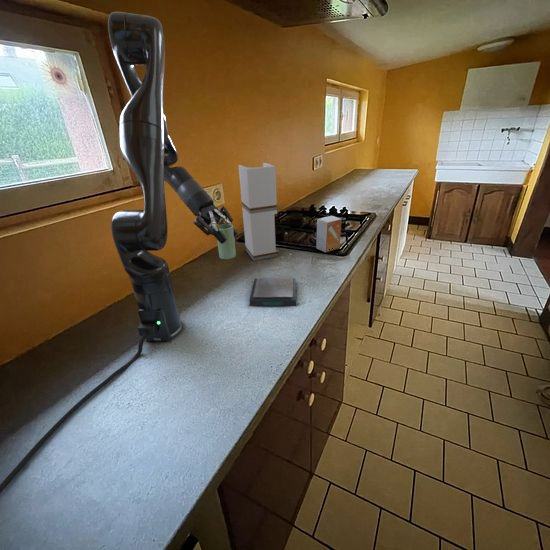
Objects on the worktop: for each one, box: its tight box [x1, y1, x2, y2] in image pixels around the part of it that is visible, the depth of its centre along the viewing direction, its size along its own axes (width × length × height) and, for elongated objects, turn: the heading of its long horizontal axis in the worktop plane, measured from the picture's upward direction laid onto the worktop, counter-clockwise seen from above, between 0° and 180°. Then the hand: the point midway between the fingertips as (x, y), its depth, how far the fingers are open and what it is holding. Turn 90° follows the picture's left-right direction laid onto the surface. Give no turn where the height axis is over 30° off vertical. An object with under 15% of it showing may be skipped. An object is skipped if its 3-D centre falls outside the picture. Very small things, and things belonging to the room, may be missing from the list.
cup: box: [216, 223, 237, 260], centre depth 96 cm, size 5×5×10 cm
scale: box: [248, 277, 297, 307], centre depth 96 cm, size 14×14×3 cm
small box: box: [315, 215, 343, 253], centre depth 126 cm, size 8×6×13 cm
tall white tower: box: [238, 162, 280, 262], centre depth 119 cm, size 11×11×35 cm
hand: (230, 238), depth 95 cm, fingers closed on cup, 5 cm apart
